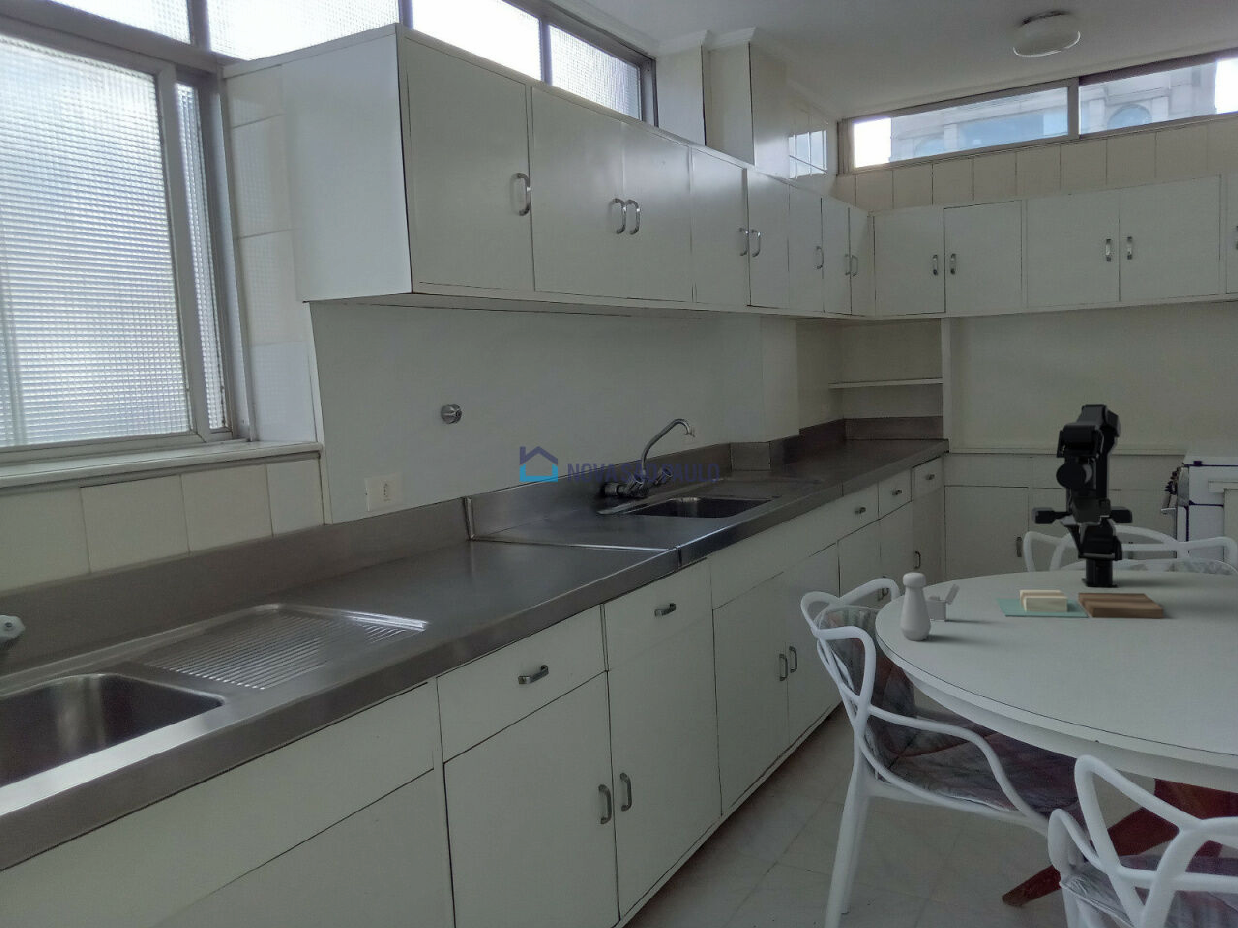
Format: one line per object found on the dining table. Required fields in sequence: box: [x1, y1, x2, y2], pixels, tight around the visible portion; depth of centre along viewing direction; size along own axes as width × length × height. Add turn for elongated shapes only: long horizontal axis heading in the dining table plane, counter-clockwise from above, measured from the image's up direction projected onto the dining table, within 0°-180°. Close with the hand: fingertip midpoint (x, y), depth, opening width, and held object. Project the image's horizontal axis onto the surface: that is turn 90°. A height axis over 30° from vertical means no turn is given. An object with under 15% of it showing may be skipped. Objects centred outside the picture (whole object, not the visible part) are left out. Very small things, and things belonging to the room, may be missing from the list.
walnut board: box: [1078, 592, 1164, 620], centre depth 191 cm, size 13×13×2 cm
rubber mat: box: [995, 597, 1089, 619], centre depth 195 cm, size 14×16×1 cm
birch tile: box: [1019, 589, 1068, 612], centre depth 195 cm, size 7×8×3 cm
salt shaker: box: [900, 572, 932, 641], centre depth 178 cm, size 6×6×13 cm
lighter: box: [925, 583, 961, 620], centre depth 189 cm, size 7×2×8 cm, turn 57°
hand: (1080, 554), depth 193 cm, fingers closed
